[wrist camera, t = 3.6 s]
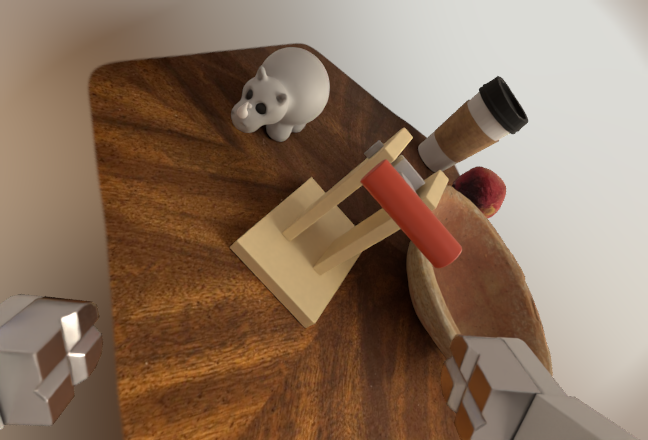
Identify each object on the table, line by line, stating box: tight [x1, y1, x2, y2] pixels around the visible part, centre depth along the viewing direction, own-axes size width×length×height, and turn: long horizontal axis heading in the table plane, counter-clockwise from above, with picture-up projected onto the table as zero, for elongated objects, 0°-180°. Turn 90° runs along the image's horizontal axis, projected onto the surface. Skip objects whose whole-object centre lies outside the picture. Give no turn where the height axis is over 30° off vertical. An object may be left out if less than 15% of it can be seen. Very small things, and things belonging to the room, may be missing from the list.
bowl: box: [406, 185, 553, 376], centre depth 38 cm, size 24×24×8 cm
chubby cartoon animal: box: [231, 47, 330, 141], centre depth 33 cm, size 7×12×8 cm, turn 144°
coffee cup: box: [418, 76, 528, 173], centre depth 54 cm, size 8×8×15 cm
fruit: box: [452, 167, 506, 218], centre depth 53 cm, size 8×8×8 cm
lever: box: [360, 155, 462, 268], centre depth 20 cm, size 12×5×2 cm, turn 146°
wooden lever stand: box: [230, 128, 449, 328], centre depth 28 cm, size 12×9×14 cm
